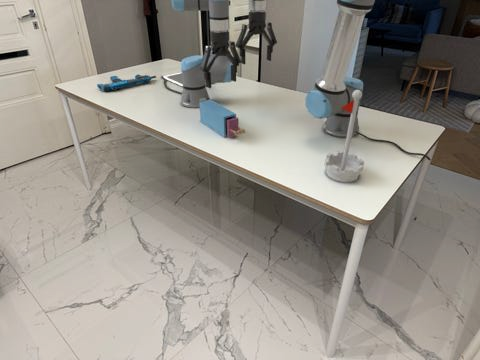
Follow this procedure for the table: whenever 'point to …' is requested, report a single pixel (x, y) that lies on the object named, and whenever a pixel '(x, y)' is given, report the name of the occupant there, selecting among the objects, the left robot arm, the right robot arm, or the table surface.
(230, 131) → the drawer
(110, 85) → the submachine gun
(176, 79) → the tablet
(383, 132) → the table surface
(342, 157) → the flag stand
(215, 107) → the cabinet
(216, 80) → the left robot arm
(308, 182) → the table surface
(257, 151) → the table surface
